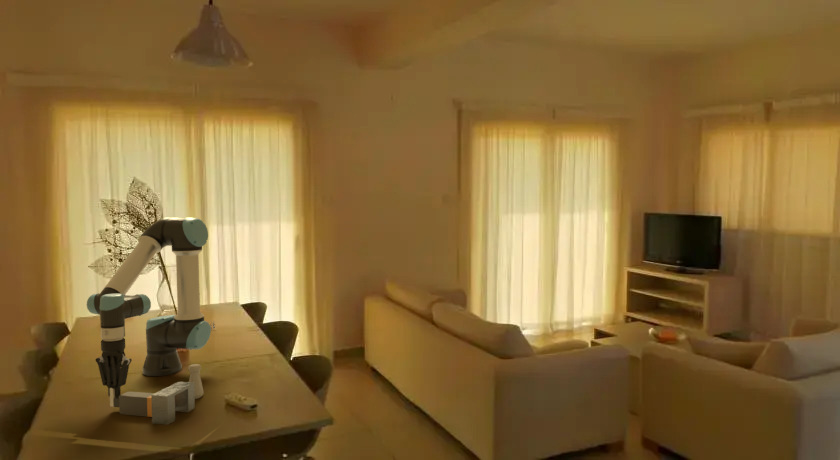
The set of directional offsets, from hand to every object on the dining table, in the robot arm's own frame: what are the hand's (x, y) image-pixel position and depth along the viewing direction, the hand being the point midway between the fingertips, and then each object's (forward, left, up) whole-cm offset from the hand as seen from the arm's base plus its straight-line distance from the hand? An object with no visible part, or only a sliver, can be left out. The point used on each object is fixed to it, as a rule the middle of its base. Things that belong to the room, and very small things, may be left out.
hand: (114, 405), depth 210 cm
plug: (+11, 0, -2) cm, 11 cm away
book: (-24, +102, -2) cm, 105 cm away
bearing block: (+23, 0, -2) cm, 23 cm away
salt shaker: (+20, +17, -2) cm, 27 cm away
